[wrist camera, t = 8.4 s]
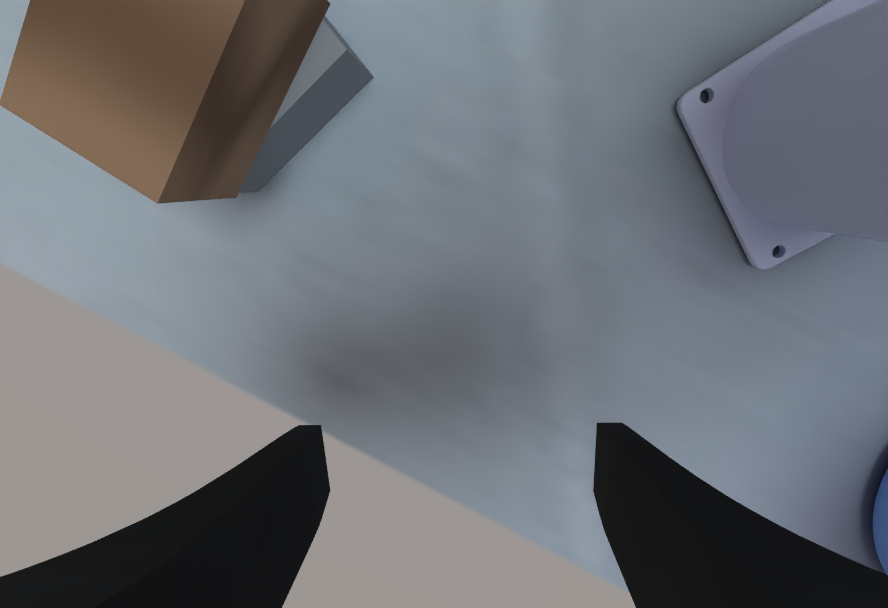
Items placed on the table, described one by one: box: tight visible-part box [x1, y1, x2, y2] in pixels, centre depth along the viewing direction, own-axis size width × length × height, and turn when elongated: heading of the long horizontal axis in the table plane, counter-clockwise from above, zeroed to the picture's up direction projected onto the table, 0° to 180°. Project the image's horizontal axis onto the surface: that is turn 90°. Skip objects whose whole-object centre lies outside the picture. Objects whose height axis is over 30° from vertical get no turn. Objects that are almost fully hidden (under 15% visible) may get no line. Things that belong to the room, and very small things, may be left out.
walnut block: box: [0, 0, 330, 203], centre depth 12 cm, size 7×4×4 cm, turn 147°
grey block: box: [239, 16, 373, 192], centre depth 16 cm, size 7×4×4 cm, turn 130°
